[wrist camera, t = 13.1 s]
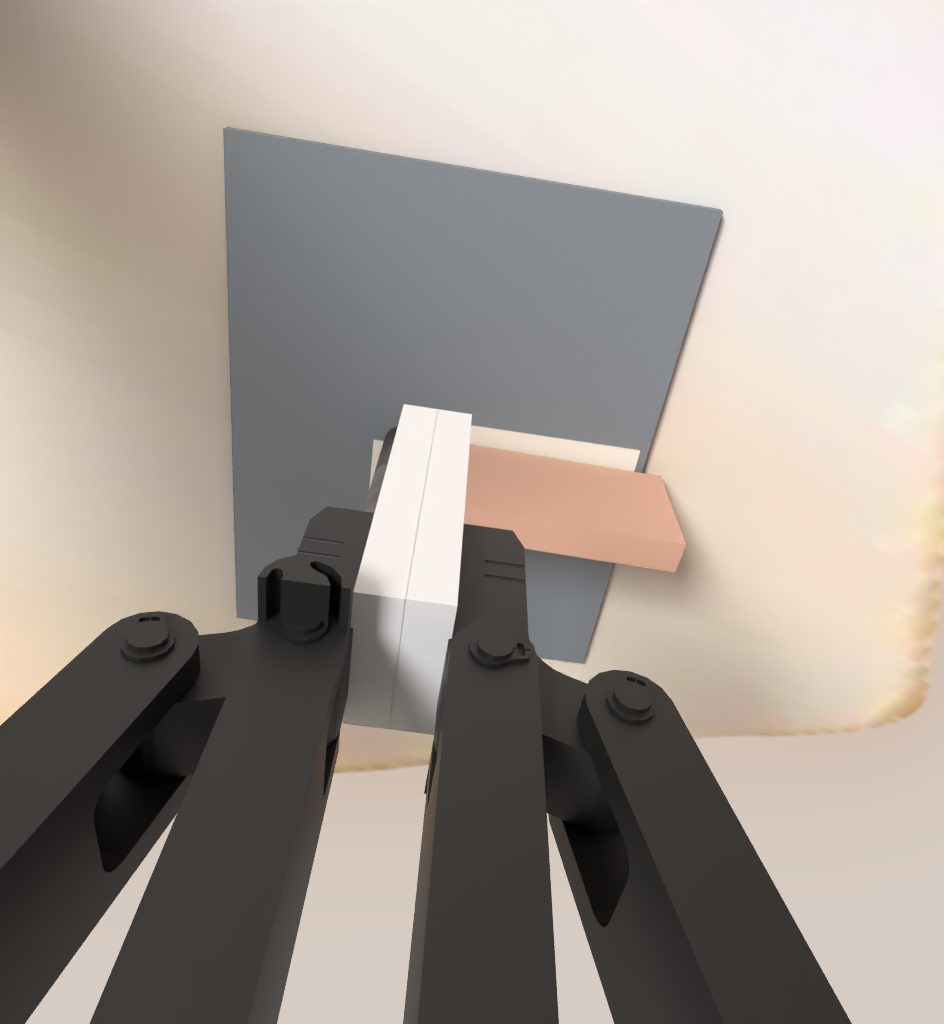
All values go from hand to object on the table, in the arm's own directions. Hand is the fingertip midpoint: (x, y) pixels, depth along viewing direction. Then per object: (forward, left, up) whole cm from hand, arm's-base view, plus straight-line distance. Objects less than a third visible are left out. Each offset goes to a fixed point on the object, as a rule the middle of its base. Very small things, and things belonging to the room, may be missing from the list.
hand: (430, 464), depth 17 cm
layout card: (0, -12, -24) cm, 27 cm away
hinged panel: (+7, -12, -23) cm, 27 cm away
